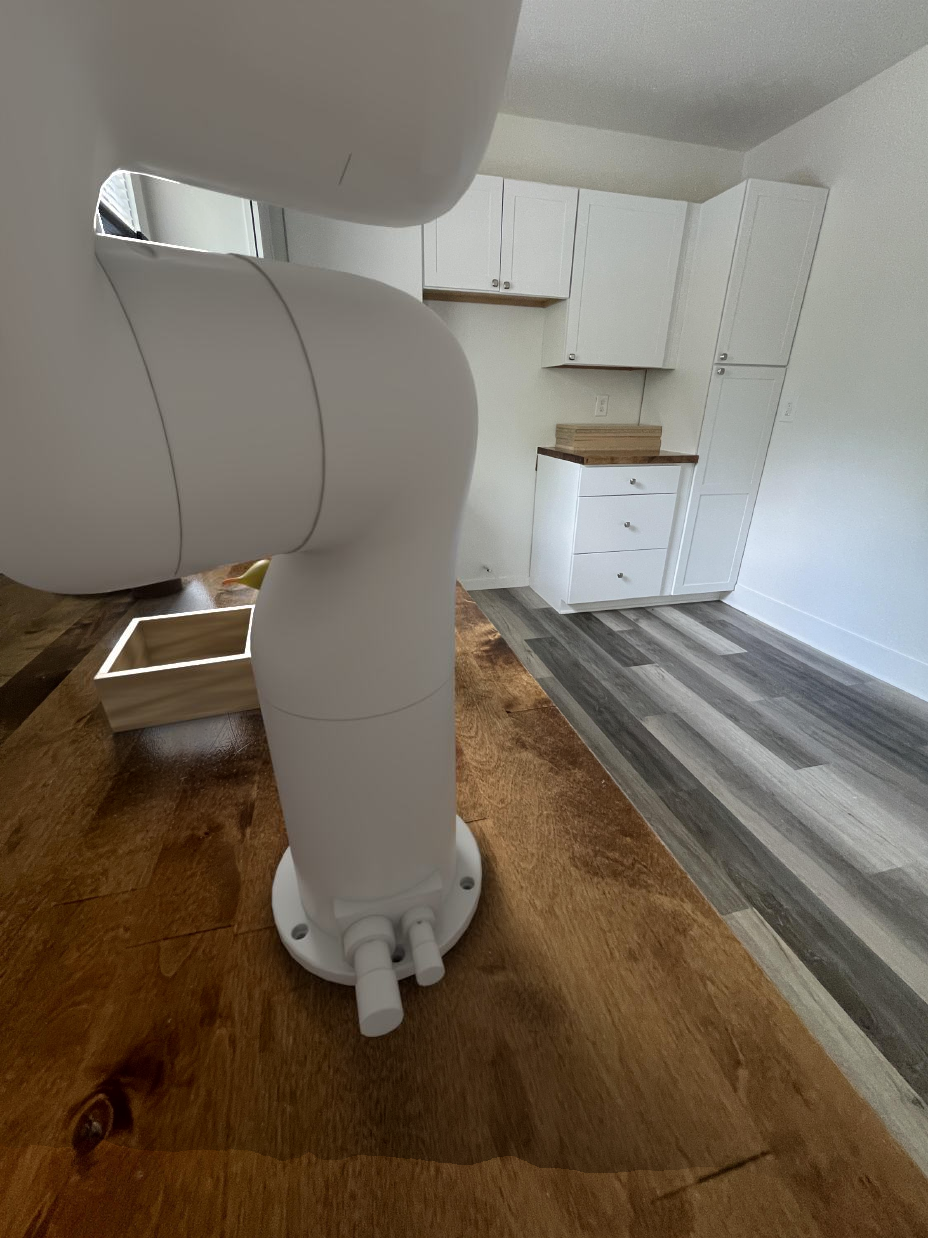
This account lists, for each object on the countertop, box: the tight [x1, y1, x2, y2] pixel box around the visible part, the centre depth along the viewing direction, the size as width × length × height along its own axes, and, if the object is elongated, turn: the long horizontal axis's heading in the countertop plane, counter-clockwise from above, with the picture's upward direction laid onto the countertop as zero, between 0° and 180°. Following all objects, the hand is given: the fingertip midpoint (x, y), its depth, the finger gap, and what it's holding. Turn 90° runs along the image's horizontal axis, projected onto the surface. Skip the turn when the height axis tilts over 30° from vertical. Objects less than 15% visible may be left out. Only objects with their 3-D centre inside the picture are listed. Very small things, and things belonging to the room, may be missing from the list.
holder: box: [92, 604, 261, 733], centre depth 50 cm, size 13×13×6 cm
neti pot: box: [221, 559, 272, 591], centre depth 70 cm, size 4×15×6 cm, turn 131°
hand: (116, 468), depth 46 cm, fingers closed on pill bottle, 6 cm apart
